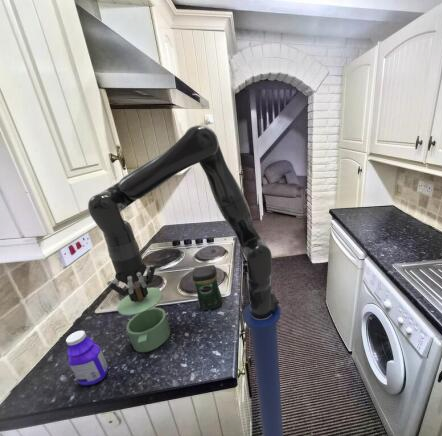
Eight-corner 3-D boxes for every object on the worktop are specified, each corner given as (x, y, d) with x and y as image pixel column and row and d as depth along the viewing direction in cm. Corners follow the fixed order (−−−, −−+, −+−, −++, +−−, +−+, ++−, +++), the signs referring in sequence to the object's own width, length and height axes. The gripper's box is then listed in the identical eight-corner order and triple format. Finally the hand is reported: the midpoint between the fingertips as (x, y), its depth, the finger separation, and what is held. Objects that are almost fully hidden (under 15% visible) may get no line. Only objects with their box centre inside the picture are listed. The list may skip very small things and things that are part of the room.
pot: (172, 316, 94) (168, 299, 91) (167, 351, 79) (161, 333, 75) (139, 324, 90) (133, 308, 87) (126, 364, 75) (119, 345, 72)
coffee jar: (222, 296, 104) (216, 261, 97) (222, 308, 97) (215, 271, 90) (200, 300, 102) (192, 264, 95) (197, 312, 95) (189, 275, 88)
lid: (165, 286, 86) (161, 271, 83) (159, 310, 74) (155, 293, 72) (124, 295, 81) (119, 279, 79) (112, 322, 70) (105, 305, 68)
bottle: (113, 365, 74) (95, 325, 68) (104, 383, 69) (83, 341, 63) (87, 371, 73) (66, 330, 67) (76, 389, 68) (52, 347, 61)
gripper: (101, 268, 64) (119, 316, 70) (154, 248, 74) (166, 292, 80) (94, 259, 68) (112, 305, 75) (145, 242, 78) (157, 283, 85)
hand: (140, 298), depth 77 cm, fingers closed on lid, 2 cm apart
